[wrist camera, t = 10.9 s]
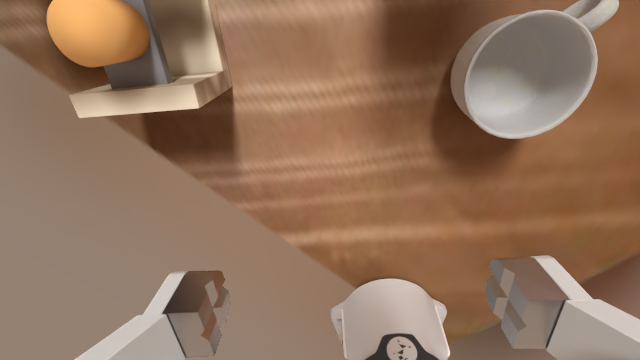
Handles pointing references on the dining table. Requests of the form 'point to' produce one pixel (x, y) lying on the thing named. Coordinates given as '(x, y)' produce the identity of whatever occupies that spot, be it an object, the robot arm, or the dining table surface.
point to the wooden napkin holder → (165, 64)
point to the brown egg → (97, 31)
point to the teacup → (529, 68)
